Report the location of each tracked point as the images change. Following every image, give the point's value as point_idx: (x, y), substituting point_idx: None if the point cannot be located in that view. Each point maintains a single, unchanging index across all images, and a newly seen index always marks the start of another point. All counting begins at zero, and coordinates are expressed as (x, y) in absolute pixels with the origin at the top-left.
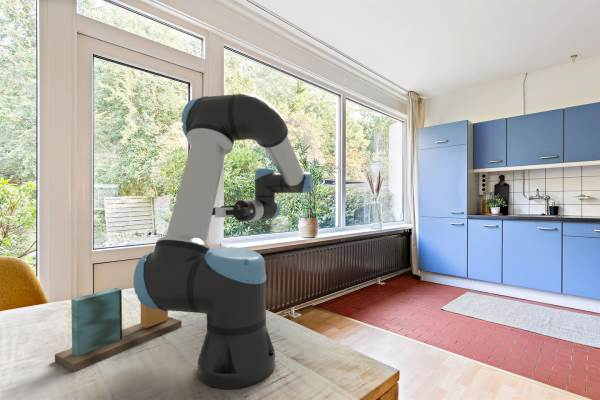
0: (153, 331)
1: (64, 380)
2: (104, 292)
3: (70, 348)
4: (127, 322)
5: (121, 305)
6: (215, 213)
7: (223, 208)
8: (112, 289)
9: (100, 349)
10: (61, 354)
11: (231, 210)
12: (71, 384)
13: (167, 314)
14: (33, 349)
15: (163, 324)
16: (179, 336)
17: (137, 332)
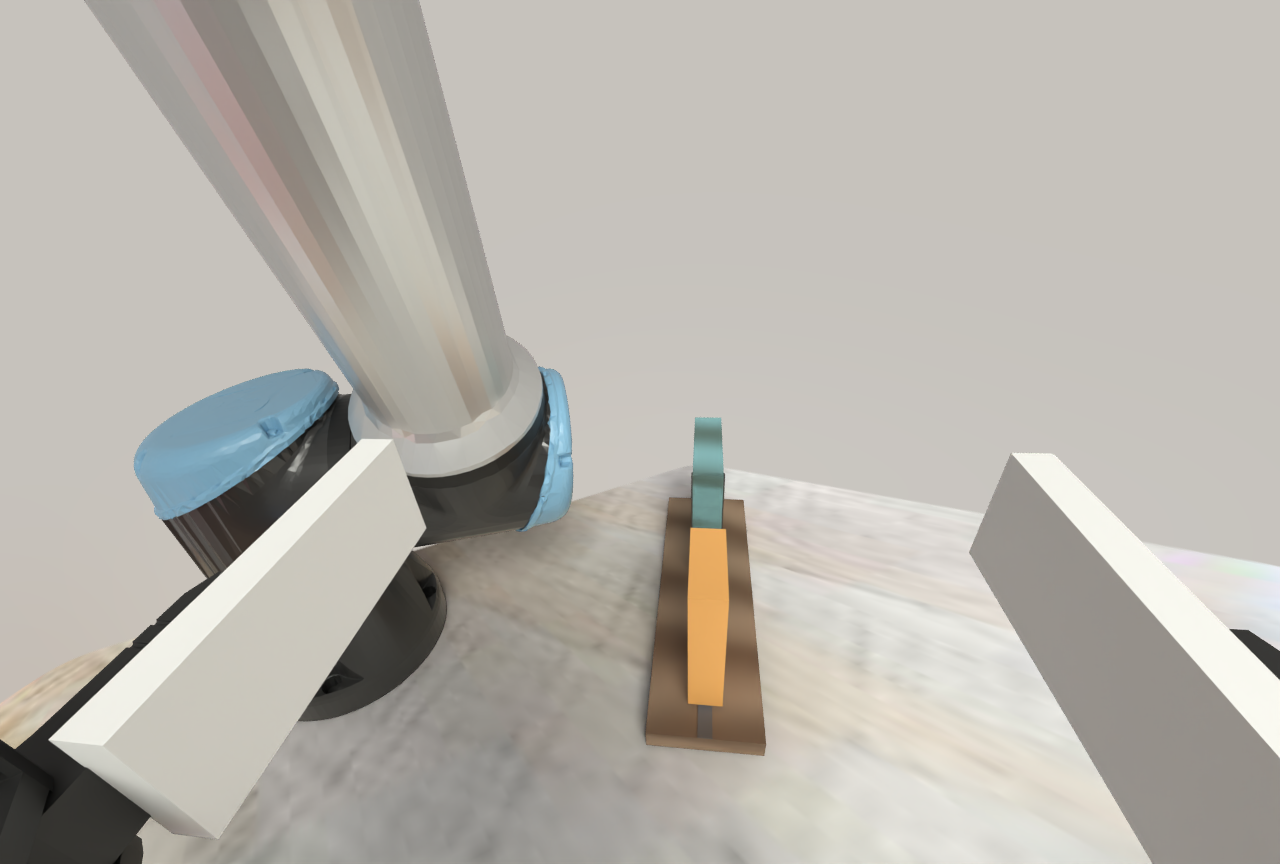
0: (658, 633)
1: (658, 498)
2: (707, 453)
3: (744, 517)
4: (865, 690)
5: (691, 510)
6: (410, 493)
7: (291, 517)
8: (718, 469)
9: (683, 536)
10: (729, 503)
11: (157, 631)
12: (636, 498)
13: (688, 690)
14: (848, 516)
15: (677, 680)
16: (597, 688)
17: None
